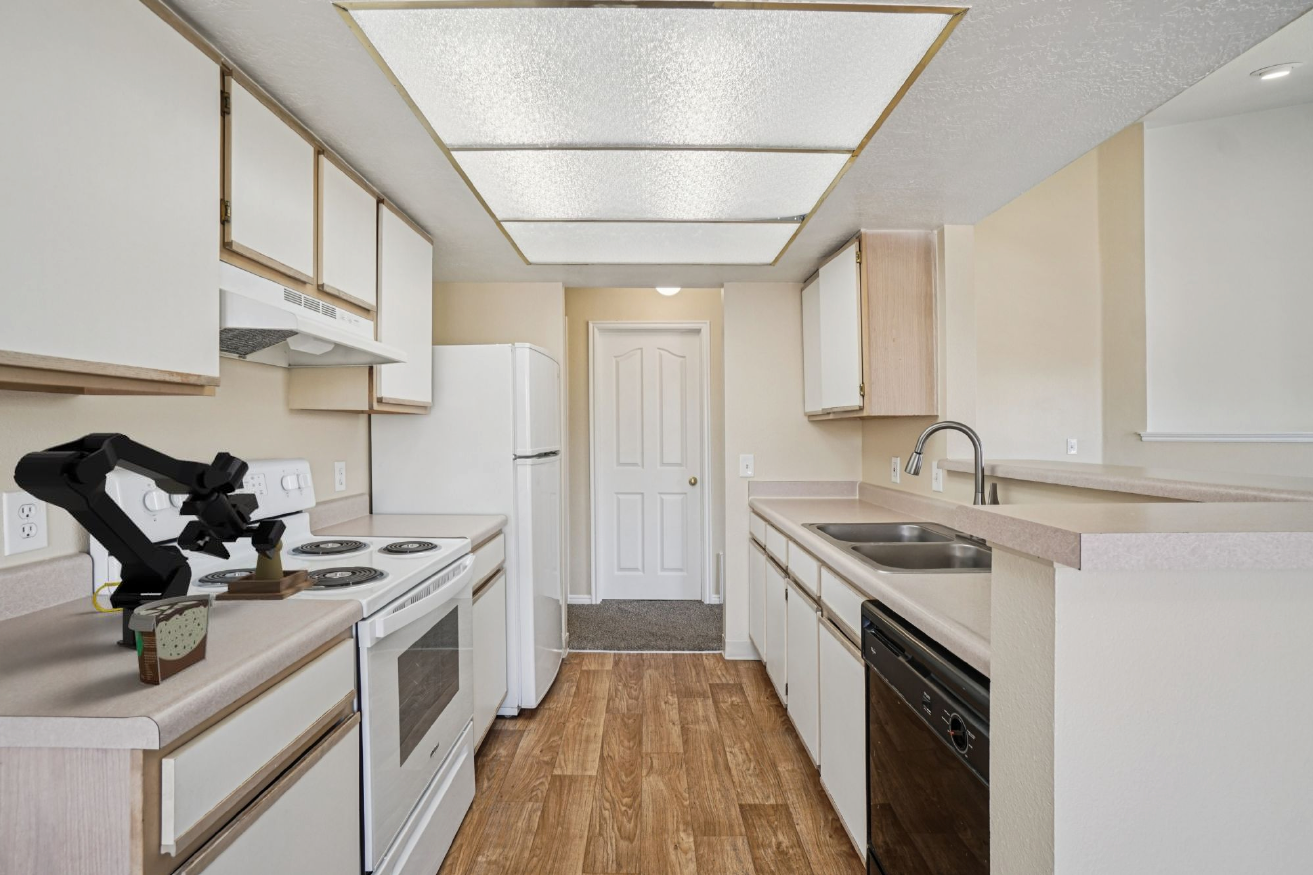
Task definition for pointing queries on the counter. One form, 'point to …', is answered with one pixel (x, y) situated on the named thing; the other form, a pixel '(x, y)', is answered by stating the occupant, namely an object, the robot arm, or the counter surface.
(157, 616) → the food container
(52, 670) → the counter surface
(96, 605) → the watch
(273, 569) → the cork
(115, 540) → the robot arm
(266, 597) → the stand
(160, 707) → the counter surface
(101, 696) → the counter surface
